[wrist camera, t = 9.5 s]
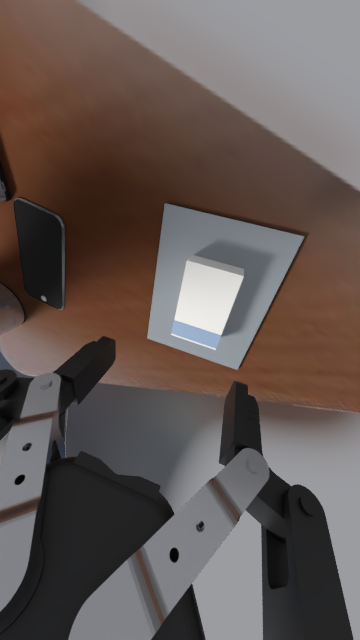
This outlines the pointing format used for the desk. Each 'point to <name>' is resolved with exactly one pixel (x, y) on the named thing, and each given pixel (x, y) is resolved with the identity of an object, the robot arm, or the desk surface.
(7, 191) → the external hard drive
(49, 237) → the smartphone
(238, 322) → the mat
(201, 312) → the card box
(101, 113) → the desk surface
